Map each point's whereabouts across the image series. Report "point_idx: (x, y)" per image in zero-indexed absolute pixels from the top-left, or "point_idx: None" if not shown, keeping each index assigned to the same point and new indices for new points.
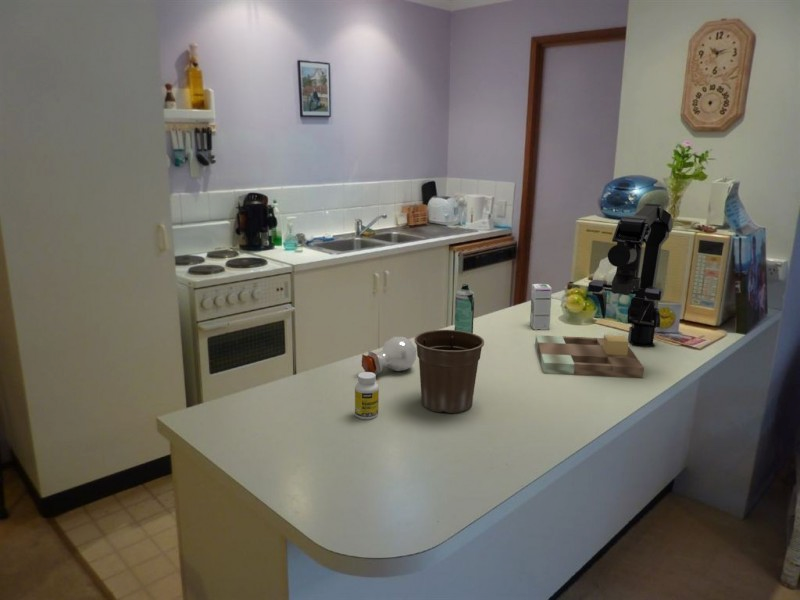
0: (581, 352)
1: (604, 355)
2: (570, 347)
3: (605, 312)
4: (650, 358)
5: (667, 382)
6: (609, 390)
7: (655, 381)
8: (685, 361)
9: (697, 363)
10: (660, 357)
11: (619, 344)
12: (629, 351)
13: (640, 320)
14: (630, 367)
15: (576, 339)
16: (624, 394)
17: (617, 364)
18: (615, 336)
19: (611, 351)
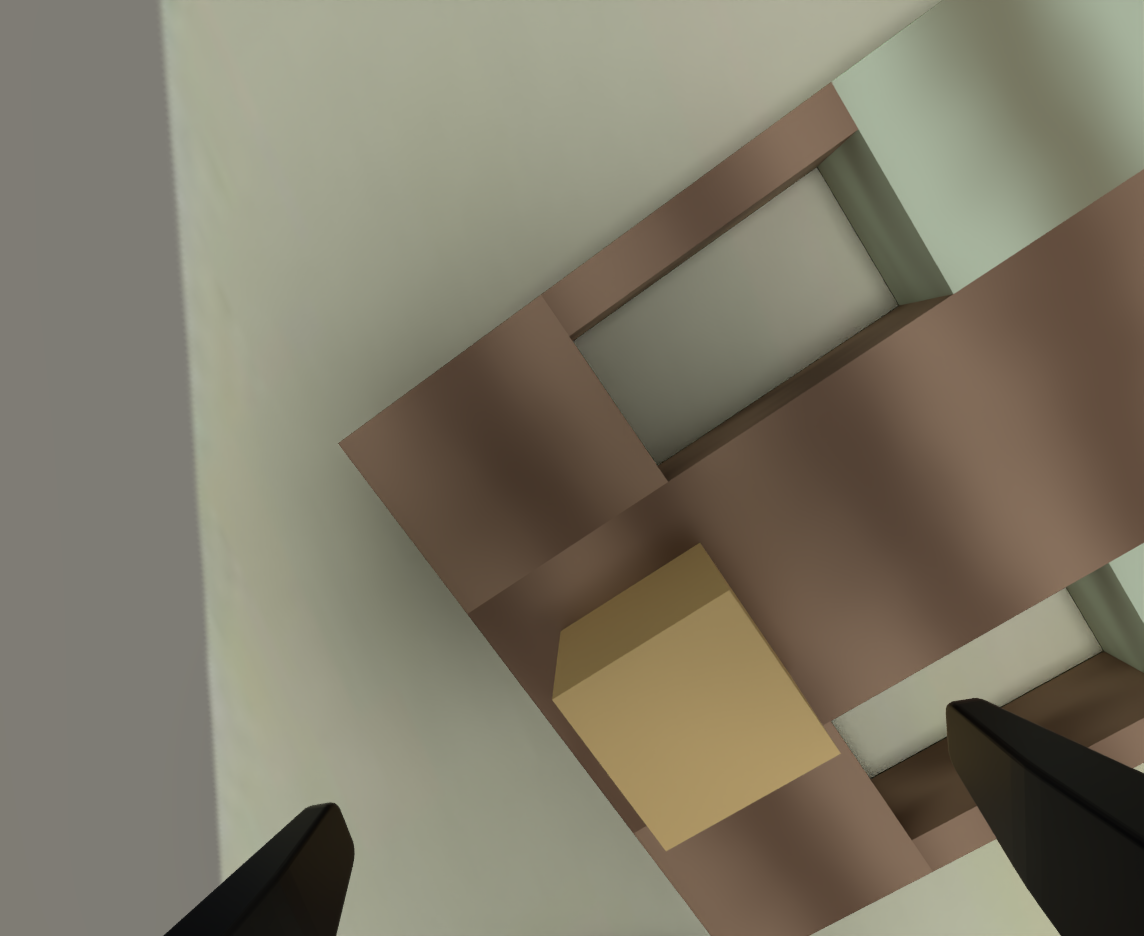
0: (898, 437)
1: (704, 500)
2: (1033, 495)
3: (1032, 851)
4: (495, 830)
5: (225, 473)
6: (443, 12)
7: (288, 435)
8: None
9: None
10: (454, 887)
11: (624, 636)
12: None
13: (256, 855)
14: (425, 382)
15: None
16: (330, 19)
17: (528, 361)
18: (723, 771)
19: (673, 571)
